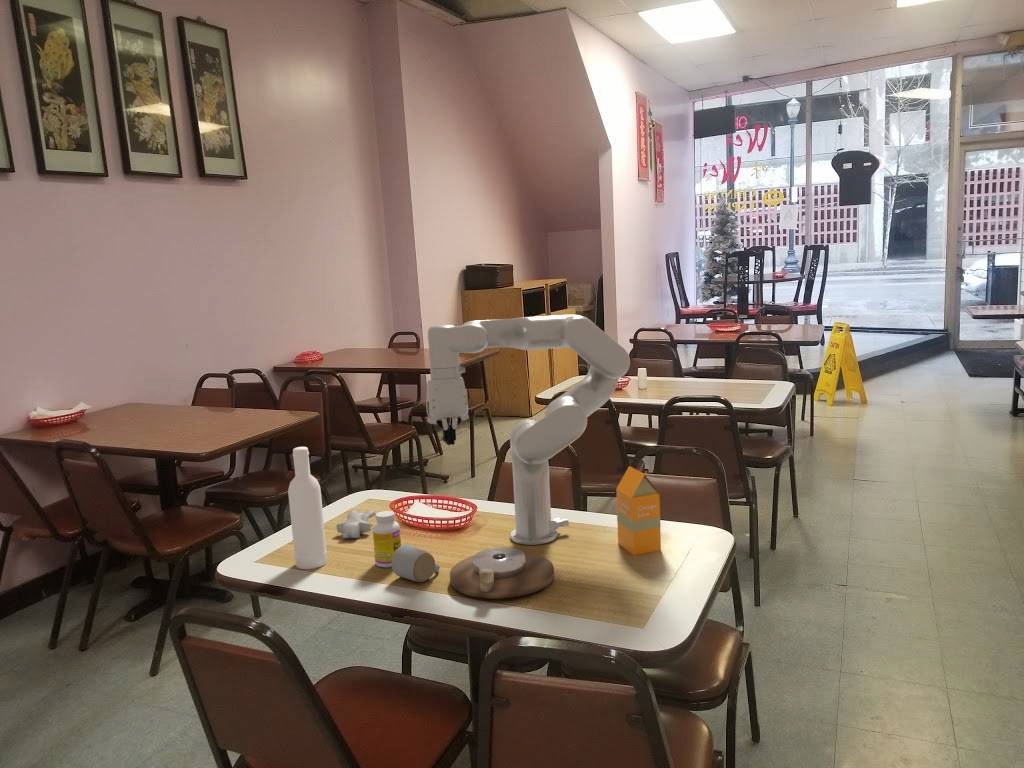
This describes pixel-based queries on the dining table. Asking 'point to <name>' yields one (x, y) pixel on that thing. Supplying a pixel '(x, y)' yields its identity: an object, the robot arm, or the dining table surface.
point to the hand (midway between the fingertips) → (450, 443)
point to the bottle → (306, 514)
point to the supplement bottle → (385, 538)
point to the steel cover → (500, 562)
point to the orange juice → (638, 513)
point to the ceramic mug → (413, 563)
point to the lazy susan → (487, 587)
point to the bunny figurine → (355, 524)
